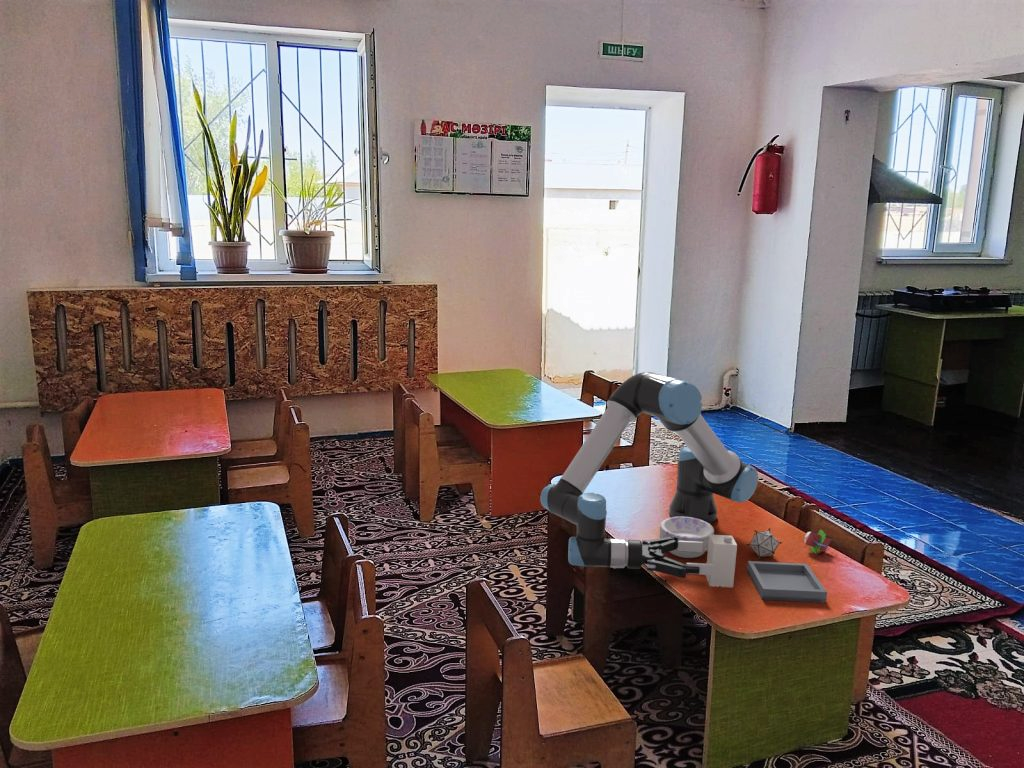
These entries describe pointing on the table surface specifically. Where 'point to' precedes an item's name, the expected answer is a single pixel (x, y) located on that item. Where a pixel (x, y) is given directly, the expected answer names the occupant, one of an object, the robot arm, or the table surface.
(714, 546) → the carton
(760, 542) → the game die
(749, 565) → the tray
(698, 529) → the white round bowl
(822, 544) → the geometric puzzle
